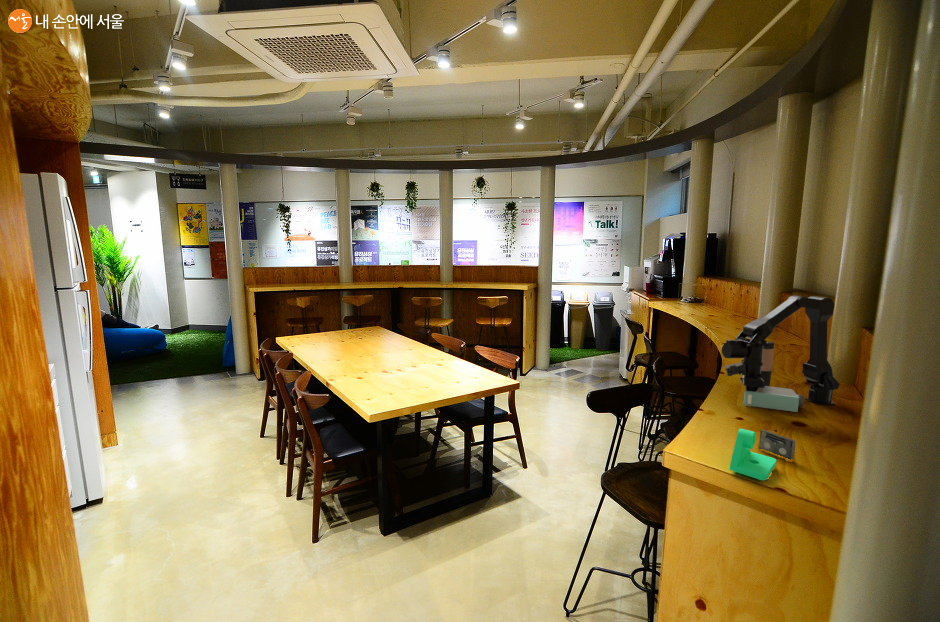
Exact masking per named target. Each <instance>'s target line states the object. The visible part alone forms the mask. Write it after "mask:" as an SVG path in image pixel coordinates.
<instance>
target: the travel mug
mask: <svg viewBox="0 0 940 622" xmlns="http://www.w3.org/2000/svg"><path fill="white" fill-rule="evenodd" d="M765 341H766V342H767V343H768V344H769V345H770V346H769V347H763V355H762V363H763V366H761V374H762V376H761V378H762V379H763V380H764V382H765V386H770V387H771V380H772V373H773V372H772V371H773V365H774V364H773V363H774V362H773V361H774V350H775V341H767V340H766V339H765Z"/></svg>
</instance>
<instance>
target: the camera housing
mask: <svg viewBox="0 0 940 622" xmlns="http://www.w3.org/2000/svg"><path fill="white" fill-rule="evenodd" d="M756 392H761V393H770V394H778V395H786V396H794V397H799V404H798V408H804V406H805V396H804V395H803V394H797V393H796V392H795V391H794V390H793V388H787V387H778V386H771V385H770V386H765V388H758V390H757V391H756ZM761 408H763V407H761ZM763 409H764V408H763ZM768 409H770V410H772V409H771V408H768ZM776 410H778V409H776ZM778 411H779V410H778ZM783 411H785V412H787V411H786V410H783ZM791 412H793V411H791Z"/></svg>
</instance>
